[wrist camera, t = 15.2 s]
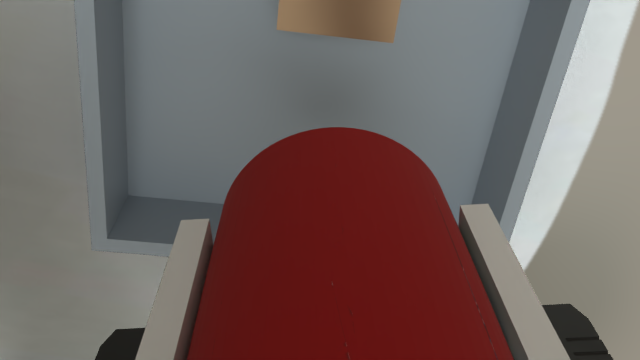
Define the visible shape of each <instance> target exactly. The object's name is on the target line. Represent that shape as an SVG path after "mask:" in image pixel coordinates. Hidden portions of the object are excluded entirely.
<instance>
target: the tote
mask: <svg viewBox="0 0 640 360" xmlns="http://www.w3.org/2000/svg"><path fill="white" fill-rule="evenodd" d="M589 2H590V0H401V5H400V10H399V15H398V21H397V26H396V32H395V37H394V42H393V43H386V42H378V41H369V40H360V39H352V38H343V37H334V36H326V35H317V34H308V33H299V32H291V31H282V30H276V29H277V18H278V7H279V0H74V6H75V20H76V34H77V48H78V62H79V76H80V90H81V105H82V119H83V133H84V147H85V161H86V175H87V189H88V203H89V217H90V231H91V245H92V250H94V251H106V252H119V253H131V254H143V255H155V256H167V257H169V256H170V252H171V249H172V246H173V243H174V240H175V237H176V234H177V231H178V228H179V225H180V222H181V220H193V219H209V220H210V227H211V233H212V239H213V245H214V241H215V237H216V233H217V229H218V225H219V221H220V217H221V213H222V209H223V205H224V202H225V199H226V196H227V193H228V191H229V189H230V187H231V185H232V183H233V182H234V180H235V178H236V177H237V176H238V174H239V173H240V172H241V170H242V169H243V168H244V167H245V166H246V165H247V164H248V163H249V162H250V161H251V160H252V159H253V158H254V157H255V156H256V155H258V154H259V153H260V152H261V151H263V150H264V149H266V148H267V147H269V146H270V145H272V144H274V143H276V142H278V141H279V140H281V139H284V138H286V137H288V136H291V135H294V134H297V133H300V132H304V131H308V130H312V129H318V128H328V127H347V128H356V129H362V130H367V131H371V132H375V133H378V134H381V135H383V136H386V137H388V138H390V139H393V140H395V141H396V142H398V143H400V144H402V145H403V146H405V147H406V148H408V149H409V150H411V151H412V152H413V153H414V154H416V155H417V156H418V157H419V158H420V159H421V160H422V161H423V162H424V163H425V164H426V165H427V166H428V167H429V169H430V170H431V171H432V173H433V174H434V176H435V177H436V179H437V181H438V183H439V185H440V187H441V189H442V191H443V193H444V196H445V198H446V200H447V202H448V205H449V207H450V209H451V211H452V214H453V216H454V218H455V220H456V223H457V225H458V226H459V213H460V205H473V204H489V206H490V208H491V210H492V212H493V214H494V216H495V218H496V220H497V221H498V223H499V225H500V227H501V229H502V231H503V233H504V235H505V237H506V238H507V240H508V242H509V241H510V238H511V235H512V232H513V229H514V226H515V223H516V220H517V217H518V214H519V211H520V208H521V205H522V202H523V199H524V196H525V193H526V190H527V187H528V184H529V181H530V178H531V175H532V172H533V169H534V166H535V163H536V160H537V157H538V154H539V151H540V148H541V145H542V142H543V139H544V136H545V133H546V130H547V127H548V124H549V121H550V119H551V116H552V113H553V110H554V107H555V104H556V101H557V98H558V95H559V92H560V89H561V86H562V83H563V80H564V77H565V74H566V71H567V68H568V65H569V62H570V59H571V56H572V53H573V50H574V47H575V44H576V41H577V38H578V35H579V32H580V29H581V26H582V23H583V20H584V17H585V14H586V11H587V8H588V5H589Z"/></svg>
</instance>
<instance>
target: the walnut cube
mask: <svg viewBox="0 0 640 360" xmlns="http://www.w3.org/2000/svg"><path fill="white" fill-rule="evenodd" d="M400 5H401V0H279V7H278V18H277V29H276V30H282V31H291V32H299V33H308V34H317V35H326V36H334V37H343V38H352V39H360V40H369V41H378V42H386V43H393V42H394V37H395V32H396V26H397V21H398V15H399V10H400Z"/></svg>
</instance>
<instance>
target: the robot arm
mask: <svg viewBox="0 0 640 360" xmlns="http://www.w3.org/2000/svg"><path fill="white" fill-rule="evenodd" d="M458 227H459V229H460V232H461V234H462V236H463V239H464V241H465V243H466V246H467V248H468V250H469V253H470V255H471V257H472V260H473V262H474V264H475V267H476V269H477V271H478V274H479V276H480V278H481V281H482V283H483V285H484V288H485V290H486V293H487V295H488V297H489V300H490V302H491V305H492V307H493V309H494V312H495V314H496V317H497V319H498V321H499V324H500V326H501V329H502V331H503V334H504V336H505V338H506V341H507V343H508V346H509V348H510V350H511V353H512V355H513V358H514V360H613V358H612V357H611V355H610V354H608V350H607V349H606V347H605V345H604V344H603V342H602V340H599V336H598V334H597V332H596V331H595V329H594V327H593V326H592V324H591V322H590V321H589V319H588V318H587V317H586V316H584V315H583V314H582V313H581V312H579V311H578V310H577V309H576V308H574V307H573V306H572V305H571V304H557V305H541V303H540V301H539V299H538V297H537V295H536V293H535V292H534V290H533V288H532V286H531V284H530V282H529V280H528V278H527V276H526V274H525V273H524V271H523V269H522V267H521V265H520V263H519V261H518V259H517V257H516V256H515V254H514V252H513V250H512V248H511V246H510V244H509V242H508V240H507V238H506V237H505V235H504V233H503V231H502V229H501V227H500V225H499V223H498V221H497V220H496V218H495V216H494V214H493V212H492V210H491V208H490V206H489V204H473V205H460V213H459V226H458ZM212 249H213V239H212V233H211V227H210V220H209V219H193V220H181V222H180V225H179V228H178V231H177V234H176V237H175V240H174V243H173V246H172V249H171V252H170V256H169V259H168V262H167V265H166V268H165V271H164V274H163V277H162V280H161V283H160V286H159V289H158V292H157V295H156V298H155V301H154V304H153V307H152V310H151V313H150V316H149V319H148V322H147V325H146V328H134V329H116V330H115V331H114V332H113V333H112V334H111V335H110V337H109V338H108V339H107V340H106V341H105V342H104V343H103V344H102V345H101V346H100V349H99V351H98V354H97V356H96V358H95V360H187V357H188V352H189V348H190V343H191V339H192V334H193V330H194V326H195V321H196V317H197V313H198V309H199V304H200V300H201V296H202V292H203V287H204V283H205V279H206V274H207V270H208V266H209V262H210V257H211V253H212Z"/></svg>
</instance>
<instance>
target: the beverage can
mask: <svg viewBox="0 0 640 360" xmlns="http://www.w3.org/2000/svg"><path fill="white" fill-rule="evenodd" d="M187 360H514V358H513V355H512V353H511V350H510V348H509V346H508V343H507V341H506V338H505V336H504V334H503V331H502V329H501V326H500V324H499V321H498V319H497V317H496V314H495V312H494V309H493V307H492V305H491V302H490V300H489V297H488V295H487V293H486V290H485V288H484V285H483V283H482V281H481V278H480V276H479V274H478V271H477V269H476V267H475V264H474V262H473V260H472V257H471V255H470V253H469V250H468V248H467V246H466V243H465V241H464V239H463V236H462V234H461V232H460V229H459V227H458V225H457V223H456V220H455V218H454V216H453V214H452V211H451V209H450V207H449V205H448V202H447V200H446V198H445V196H444V193H443V191H442V189H441V187H440V185H439V183H438V181H437V179H436V177H435V176H434V174H433V173H432V171H431V170H430V169H429V167H428V166H427V165H426V164H425V163H424V162H423V161H422V160H421V159H420V158H419V157H418V156H417V155H416V154H414V153H413V152H412V151H411V150H409V149H408V148H406V147H405V146H403V145H402V144H400V143H398V142H396V141H395V140H393V139H390V138H388V137H386V136H383V135H381V134H378V133H375V132H371V131H367V130H362V129H356V128H347V127H328V128H318V129H312V130H308V131H304V132H300V133H297V134H294V135H291V136H288V137H286V138H284V139H281V140H279V141H278V142H276V143H274V144H272V145H270V146H269V147H267V148H266V149H264V150H263V151H261V152H260V153H259V154H258V155H256V156H255V157H254V158H253V159H252V160H251V161H250V162H249V163H248V164H247V165H246V166H245V167H244V168H243V169H242V170H241V172H240V173H239V174H238V176H237V177H236V178H235V180H234V182H233V183H232V185H231V187H230V189H229V191H228V193H227V196H226V199H225V202H224V205H223V209H222V213H221V217H220V221H219V225H218V229H217V233H216V237H215V241H214V245H213V249H212V253H211V257H210V262H209V266H208V270H207V274H206V279H205V283H204V287H203V292H202V296H201V300H200V304H199V309H198V313H197V317H196V321H195V326H194V330H193V334H192V339H191V343H190V348H189V352H188V357H187Z"/></svg>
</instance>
